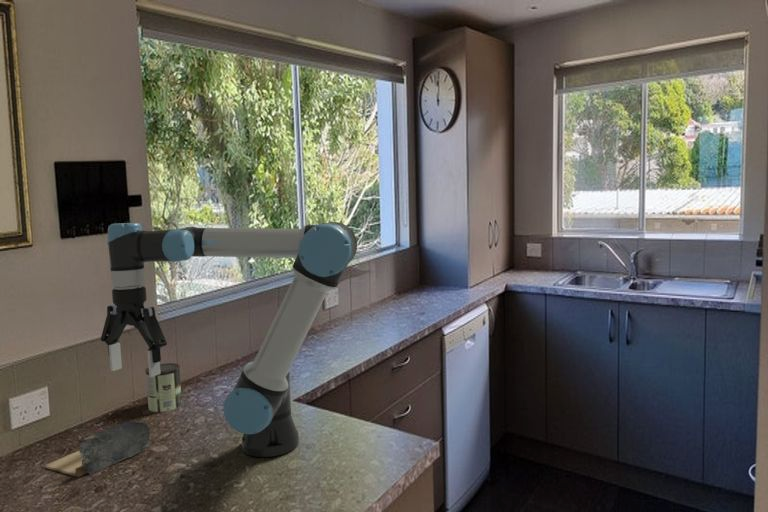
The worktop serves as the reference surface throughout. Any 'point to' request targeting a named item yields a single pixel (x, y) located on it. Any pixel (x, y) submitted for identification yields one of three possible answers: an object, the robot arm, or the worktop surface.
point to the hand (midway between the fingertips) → (135, 372)
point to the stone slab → (113, 445)
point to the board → (69, 465)
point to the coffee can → (164, 388)
